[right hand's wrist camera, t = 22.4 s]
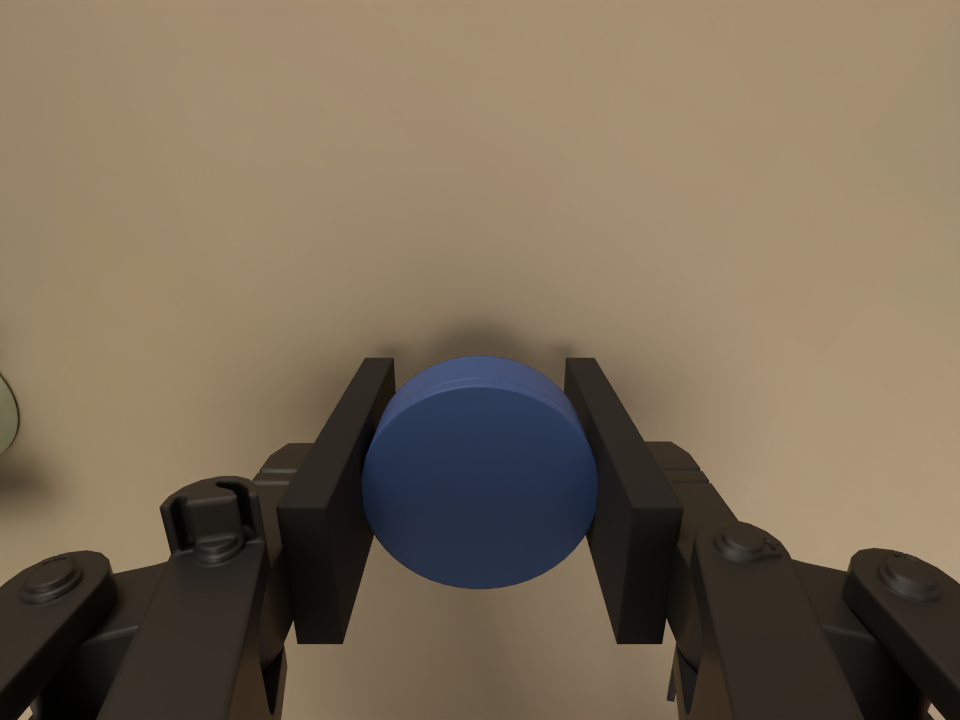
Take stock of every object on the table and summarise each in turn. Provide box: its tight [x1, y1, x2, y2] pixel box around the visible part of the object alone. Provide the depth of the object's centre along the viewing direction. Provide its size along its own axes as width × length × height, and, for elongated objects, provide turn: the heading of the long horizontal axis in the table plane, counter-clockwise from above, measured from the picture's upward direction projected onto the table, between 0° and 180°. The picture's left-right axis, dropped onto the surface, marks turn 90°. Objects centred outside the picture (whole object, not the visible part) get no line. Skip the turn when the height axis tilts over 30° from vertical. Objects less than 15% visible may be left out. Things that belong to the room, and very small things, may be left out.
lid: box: [361, 356, 599, 589], centre depth 11 cm, size 5×5×2 cm
